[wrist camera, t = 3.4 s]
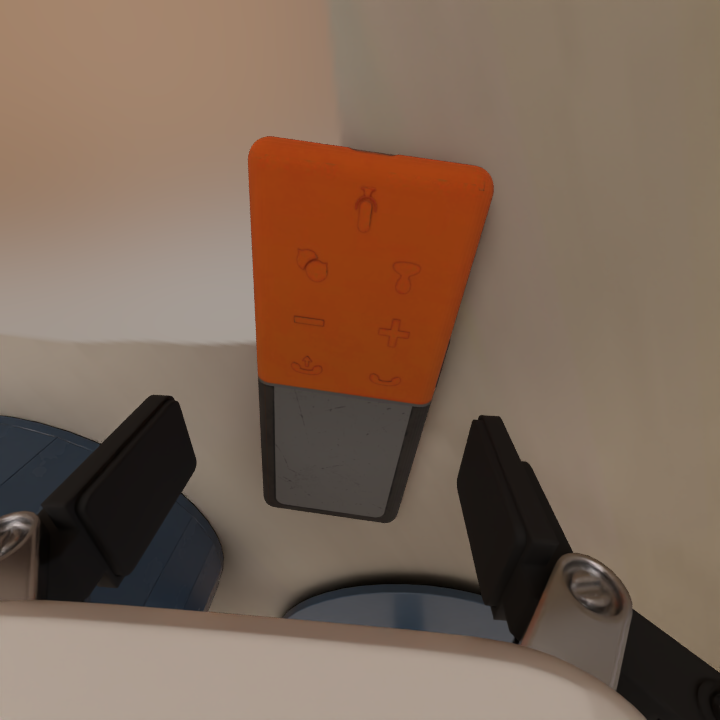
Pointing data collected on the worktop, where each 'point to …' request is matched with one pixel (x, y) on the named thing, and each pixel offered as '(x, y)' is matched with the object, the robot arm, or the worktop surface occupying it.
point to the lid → (406, 610)
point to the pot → (163, 555)
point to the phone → (353, 314)
